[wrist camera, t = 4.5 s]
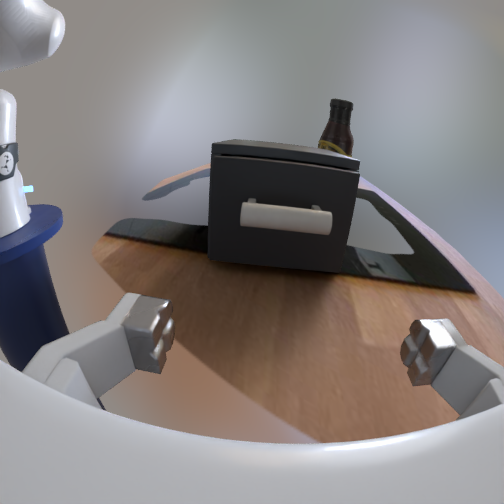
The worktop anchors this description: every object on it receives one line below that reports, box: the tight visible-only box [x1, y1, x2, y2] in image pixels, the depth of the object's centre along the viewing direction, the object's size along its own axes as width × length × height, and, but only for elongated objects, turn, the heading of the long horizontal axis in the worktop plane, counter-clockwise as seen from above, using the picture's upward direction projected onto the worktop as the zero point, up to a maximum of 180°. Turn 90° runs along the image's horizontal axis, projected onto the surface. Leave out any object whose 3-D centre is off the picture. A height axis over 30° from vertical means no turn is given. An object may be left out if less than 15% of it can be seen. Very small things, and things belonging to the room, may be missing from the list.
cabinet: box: [208, 139, 360, 258], centre depth 31 cm, size 15×13×11 cm
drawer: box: [209, 155, 360, 273], centre depth 26 cm, size 18×12×9 cm, turn 177°
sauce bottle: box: [318, 99, 353, 158], centre depth 45 cm, size 6×6×20 cm
